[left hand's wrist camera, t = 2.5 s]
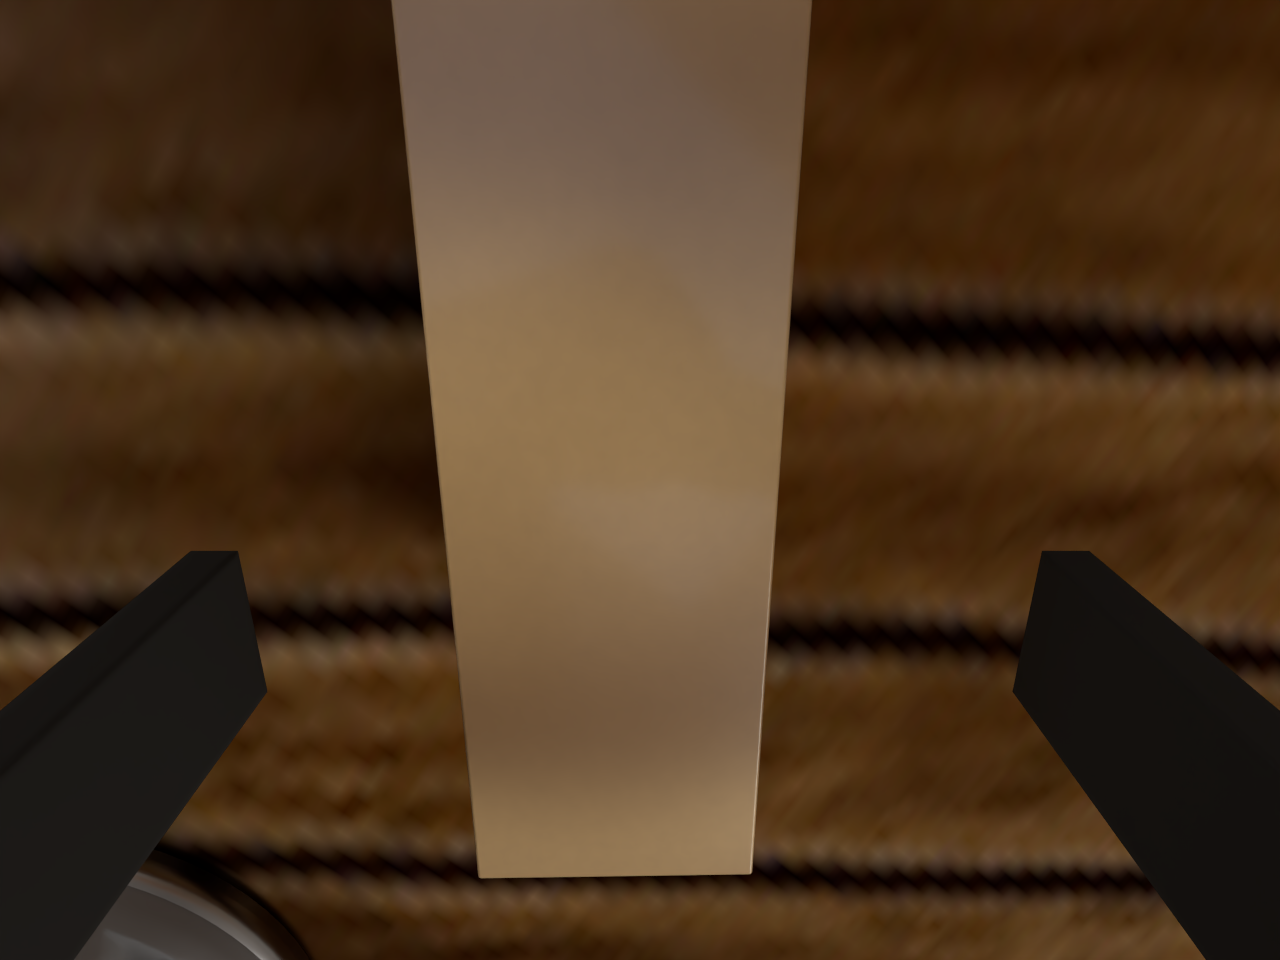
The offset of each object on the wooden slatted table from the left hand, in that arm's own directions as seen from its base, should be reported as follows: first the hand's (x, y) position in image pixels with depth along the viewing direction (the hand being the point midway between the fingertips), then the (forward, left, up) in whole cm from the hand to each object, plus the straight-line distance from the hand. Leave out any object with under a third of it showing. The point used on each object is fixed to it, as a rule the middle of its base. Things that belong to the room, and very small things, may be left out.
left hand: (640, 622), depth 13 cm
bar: (0, +8, -7) cm, 11 cm away
